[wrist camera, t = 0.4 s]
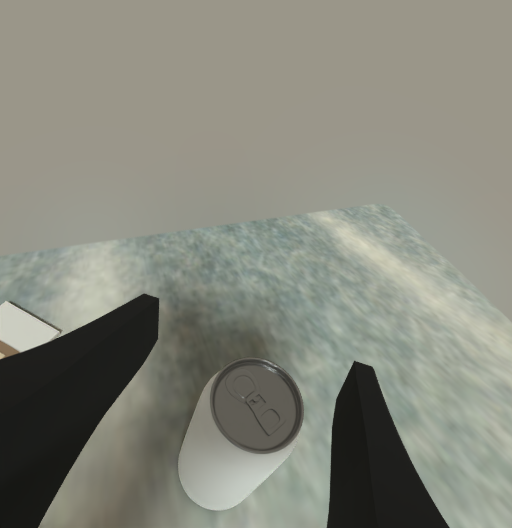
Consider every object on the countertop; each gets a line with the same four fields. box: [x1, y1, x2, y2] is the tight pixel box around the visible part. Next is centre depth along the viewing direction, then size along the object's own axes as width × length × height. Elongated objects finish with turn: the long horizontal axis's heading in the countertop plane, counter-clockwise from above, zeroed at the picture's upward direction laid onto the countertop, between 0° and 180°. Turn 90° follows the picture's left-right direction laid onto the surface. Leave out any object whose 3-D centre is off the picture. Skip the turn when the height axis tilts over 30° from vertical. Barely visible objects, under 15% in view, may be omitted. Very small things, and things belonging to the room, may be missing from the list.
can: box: [178, 357, 304, 510], centre depth 24 cm, size 6×6×12 cm
